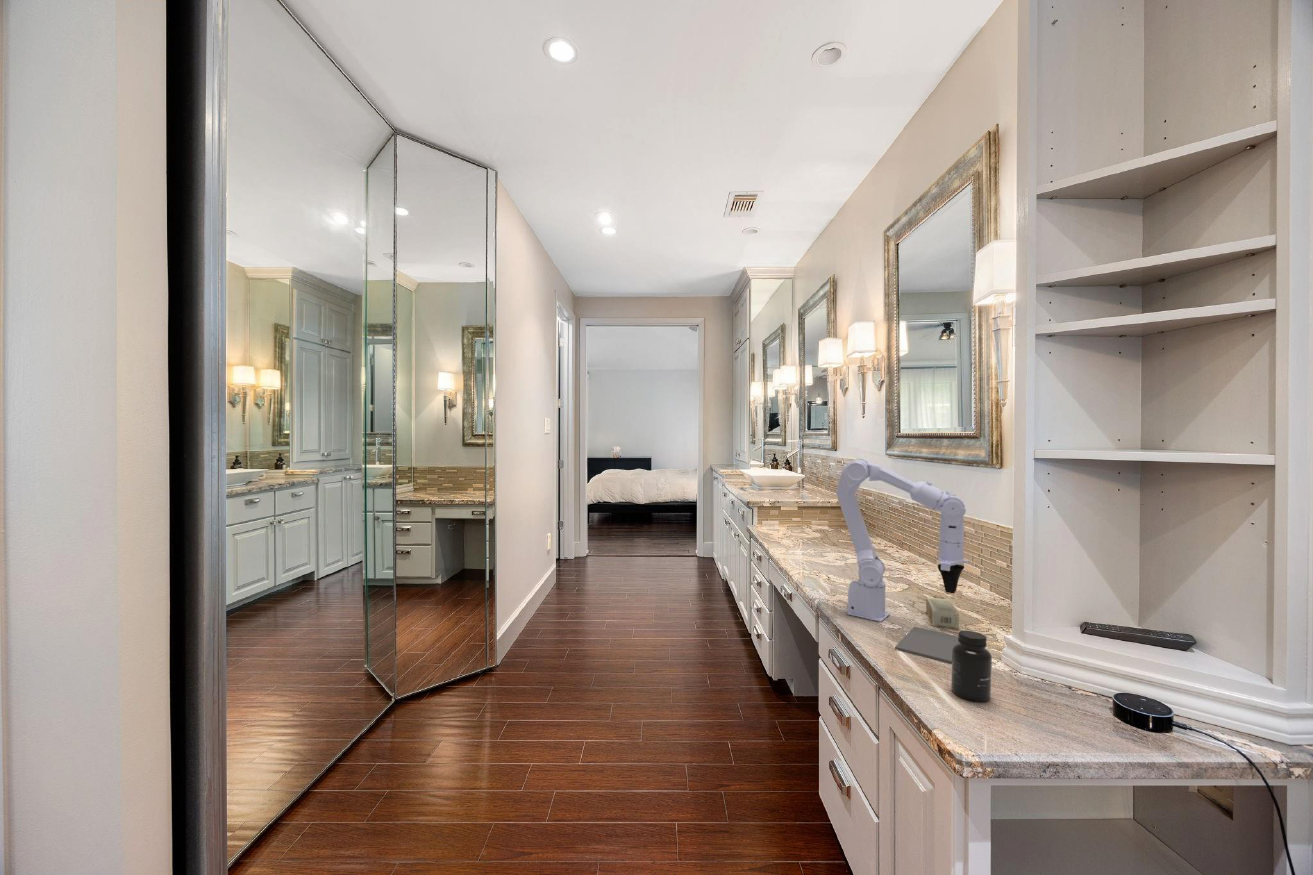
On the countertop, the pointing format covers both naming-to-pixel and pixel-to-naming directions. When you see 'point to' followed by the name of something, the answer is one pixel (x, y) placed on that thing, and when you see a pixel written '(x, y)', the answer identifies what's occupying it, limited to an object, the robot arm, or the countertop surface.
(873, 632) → the countertop surface
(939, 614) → the skincare box
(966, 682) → the supplement bottle
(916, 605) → the countertop surface
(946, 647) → the mat
